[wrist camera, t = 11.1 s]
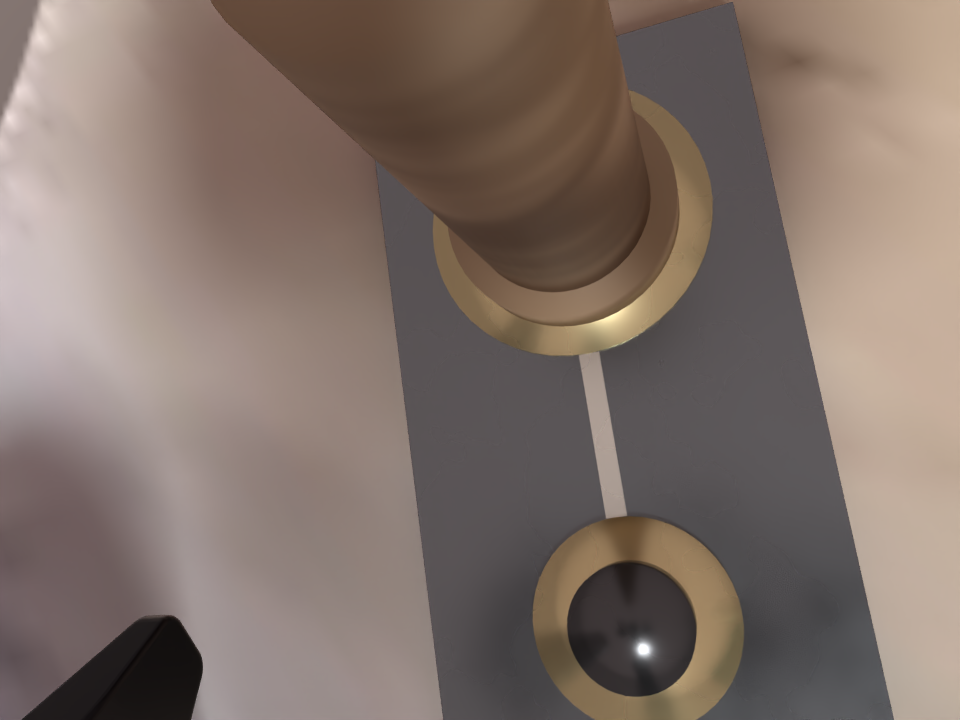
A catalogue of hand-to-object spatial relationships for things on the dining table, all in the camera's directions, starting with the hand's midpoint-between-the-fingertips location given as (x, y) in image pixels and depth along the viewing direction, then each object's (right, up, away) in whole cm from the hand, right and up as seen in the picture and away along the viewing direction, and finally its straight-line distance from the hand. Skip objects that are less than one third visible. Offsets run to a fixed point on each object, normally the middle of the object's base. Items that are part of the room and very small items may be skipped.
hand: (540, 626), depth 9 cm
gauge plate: (+2, +3, +11) cm, 12 cm away
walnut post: (+2, +7, +11) cm, 13 cm away
